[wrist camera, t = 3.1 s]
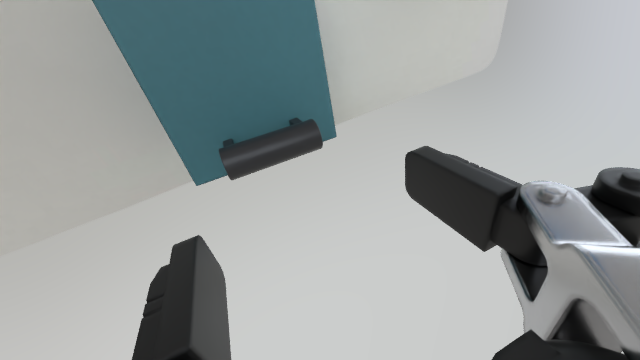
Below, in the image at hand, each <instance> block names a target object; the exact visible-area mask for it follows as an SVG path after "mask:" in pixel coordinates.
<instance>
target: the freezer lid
mask: <svg viewBox="0 0 640 360" xmlns="http://www.w3.org/2000/svg"><path fill="white" fill-rule="evenodd" d="M92 1H93V3H94V4H95V6H96V8H97V10H98V12H99V13H100V15H101V17H102V19H103V20H104V22H105V24H106V26H107V28H108V29H109V31H110V33H111V35H112V36H113V38H114V40H115V42H116V44H117V45H118V47H119V49H120V51H121V53H122V54H123V56H124V58H125V60H126V61H127V63H128V65H129V67H130V69H131V70H132V72H133V74H134V76H135V77H136V79H137V81H138V83H139V85H140V86H141V88H142V90H143V92H144V93H145V95H146V97H147V99H148V101H149V102H150V104H151V106H152V108H153V109H154V111H155V113H156V115H157V117H158V118H159V120H160V122H161V124H162V125H163V127H164V129H165V131H166V133H167V134H168V136H169V138H170V140H171V141H172V143H173V145H174V147H175V149H176V150H177V152H178V154H179V156H180V157H181V159H182V161H183V163H184V165H185V166H186V168H187V170H188V172H189V174H190V175H191V177H192V179H193V181H194V182H195V184H196V185H197V186H198V185H201V184H204V183H207V182H209V181H212V180H215V179H218V178H221V177H224V176H227V175H228V176H229V178H230V179H231V180H234V179H237V178H240V177H243V176H245V175H248V174H251V173H254V172H257V171H259V170H262V169H265V168H268V167H270V166H273V165H276V164H279V163H281V162H284V161H287V160H290V159H293V158H296V157H298V156H301V155H304V154H307V153H310V152H312V151H315V150H318V149H321V148H322V145H323V141H326V140H329V139H332V138H335V137H336V131H335V124H334V118H333V112H332V106H331V99H330V93H329V87H328V81H327V75H326V69H325V63H324V56H323V50H322V44H321V38H320V32H319V26H318V20H317V13H316V7H315V1H314V0H92Z"/></svg>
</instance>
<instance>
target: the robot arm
mask: <svg viewBox="0 0 640 360" xmlns="http://www.w3.org/2000/svg"><path fill="white" fill-rule="evenodd" d="M405 186H406V190H407V192H408V194H409V196H410V197H411V198H412V199H413V200H415V201H416V202H417V203H419V204H420V205H422V206H423V207H424V208H426V209H427V210H428V211H430V212H431V213H432V214H434V215H435V216H437V217H438V218H439V219H441V220H442V221H443V222H444V223H446V224H447V225H449V226H450V227H451V228H453V229H454V230H455V231H457V232H458V233H459V234H461V235H462V236H463V237H465V238H466V239H467V240H469V241H470V242H472V243H473V244H474V245H476V246H477V247H478V248H480V249H481V250H482V251H484V252H485V251H487V250H489V249H490V248H492V247H494V246H496V245H498V246H500V247H501V248H502V250H501V257H502V260H503V262H504V265H505V267H506V269H507V272H508V274H509V277H510V279H511V282H512V284H513V287H514V289H515V292H516V294H517V297H518V299H519V302H520V304H521V307H522V310H523V315H524V322H523V323H524V324H523V325H524V334H523V335H522V336H520V337H519V338H517V339H516V340H514V341H513V342H511V343H510V344H509V345H507V346H506V347H504V348H503V349H502V350H500V351H499V352H497V353H496V354H495V355H494V357H493V359H492V360H640V169H634V168H622V167H620V168H619V167H618V168H608V169H604V170H602V171H601V172H599V174H598V176H597V178H596V180H595V182H594V184H593V185H592V186H586V187H580V188H572V187H569V186H566V185H564V184H560V183H555V182H549V181H533V182H528V183H526V184H524V185H522V184H520V183H517V182H515V181H513V180H510V179H508V178H506V177H504V176H501V175H499V174H497V173H494V172H492V171H490V170H488V169H485V168H483V167H479V166H478V165H476V164H474V163H469V162H468V161H467V160H464V159H462V158H460V157H458V156H454V155H450V154H445V153H442V152H440V151H437V150H435V149H433V148H431V147H428V146H423V147H421V148H418V149H416V150H414V151H411V152H408V153H407V154H406V157H405ZM146 301H147V304H146V305H145V308H144V312H143V316H144V318H143V319H142V321H141V325H140V328H139V333H138V337H137V341H136V345H135V349H134V353H133V357H132V360H231V352H230V338H229V324H228V311H227V298H226V284H225V278H224V274H223V271H222V269H221V267H220V265H219V263H218V262H217V260H216V259H215V257H214V255H213V254H212V252H211V251H210V249H209V247H208V246H207V245H206V243H205V241H204V240H203V238H202V237H201V236H199V235H198V236H195V237H193V238H190V239H188V240H185V241H183V242H180V243H178V244H175V245H174V246H173V248H172V253H171V259H170V264H169V265H166V266H164V267H161V268H160V270H159V272H158V273H157V274H156V276H155V278H154V279H153V281H152V282H151V284H150V287H149V292H148V296H147V300H146ZM622 351H623V352H624V354H622V353H621V352H622Z"/></svg>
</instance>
